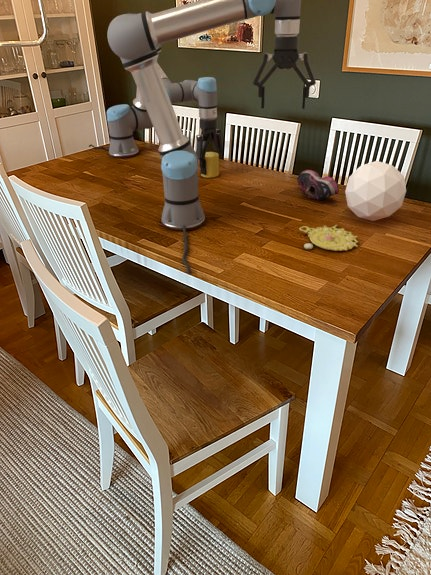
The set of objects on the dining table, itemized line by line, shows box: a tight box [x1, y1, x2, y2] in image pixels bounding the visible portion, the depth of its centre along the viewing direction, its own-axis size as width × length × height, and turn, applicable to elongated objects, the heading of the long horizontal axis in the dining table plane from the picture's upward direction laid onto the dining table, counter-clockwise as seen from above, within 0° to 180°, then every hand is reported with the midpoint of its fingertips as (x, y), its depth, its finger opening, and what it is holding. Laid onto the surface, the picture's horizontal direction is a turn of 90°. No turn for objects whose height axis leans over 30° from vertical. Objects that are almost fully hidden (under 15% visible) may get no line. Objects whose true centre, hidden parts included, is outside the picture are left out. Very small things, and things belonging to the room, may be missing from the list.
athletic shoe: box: [294, 169, 340, 201], centre depth 171 cm, size 11×22×12 cm
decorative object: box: [299, 224, 359, 252], centre depth 141 cm, size 21×2×20 cm
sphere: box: [344, 160, 407, 222], centre depth 150 cm, size 19×20×20 cm
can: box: [200, 151, 220, 179], centre depth 196 cm, size 8×8×9 cm
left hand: (209, 171), depth 198 cm, fingers closed on can, 8 cm apart
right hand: (282, 107), depth 149 cm, fingers open, 13 cm apart
